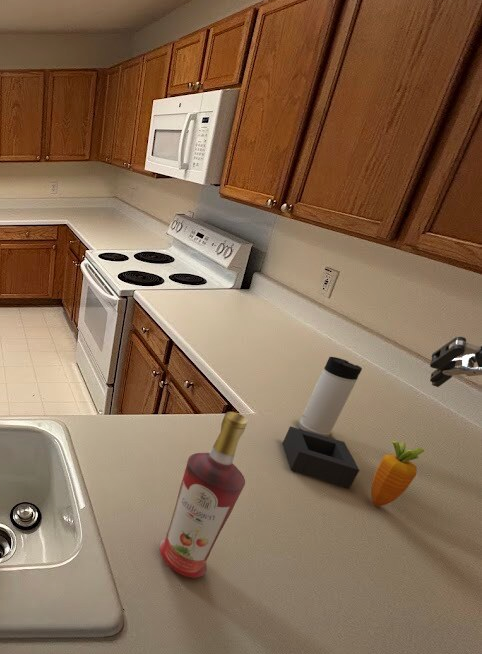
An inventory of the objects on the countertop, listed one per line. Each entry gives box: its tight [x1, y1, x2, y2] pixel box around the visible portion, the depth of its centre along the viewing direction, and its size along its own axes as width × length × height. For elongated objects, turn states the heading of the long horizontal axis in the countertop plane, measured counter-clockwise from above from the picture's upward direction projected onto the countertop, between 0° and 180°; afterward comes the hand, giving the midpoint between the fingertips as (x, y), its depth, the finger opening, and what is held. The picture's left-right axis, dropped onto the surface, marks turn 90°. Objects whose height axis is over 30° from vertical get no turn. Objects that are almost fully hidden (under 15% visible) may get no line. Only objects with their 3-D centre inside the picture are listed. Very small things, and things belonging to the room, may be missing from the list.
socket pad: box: [282, 425, 360, 490], centre depth 90 cm, size 10×10×5 cm
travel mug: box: [297, 356, 363, 438], centre depth 99 cm, size 6×7×20 cm
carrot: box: [370, 440, 425, 507], centre depth 78 cm, size 5×5×15 cm
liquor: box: [159, 411, 249, 578], centre depth 60 cm, size 7×7×28 cm
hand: (469, 393), depth 67 cm, fingers open, 8 cm apart
